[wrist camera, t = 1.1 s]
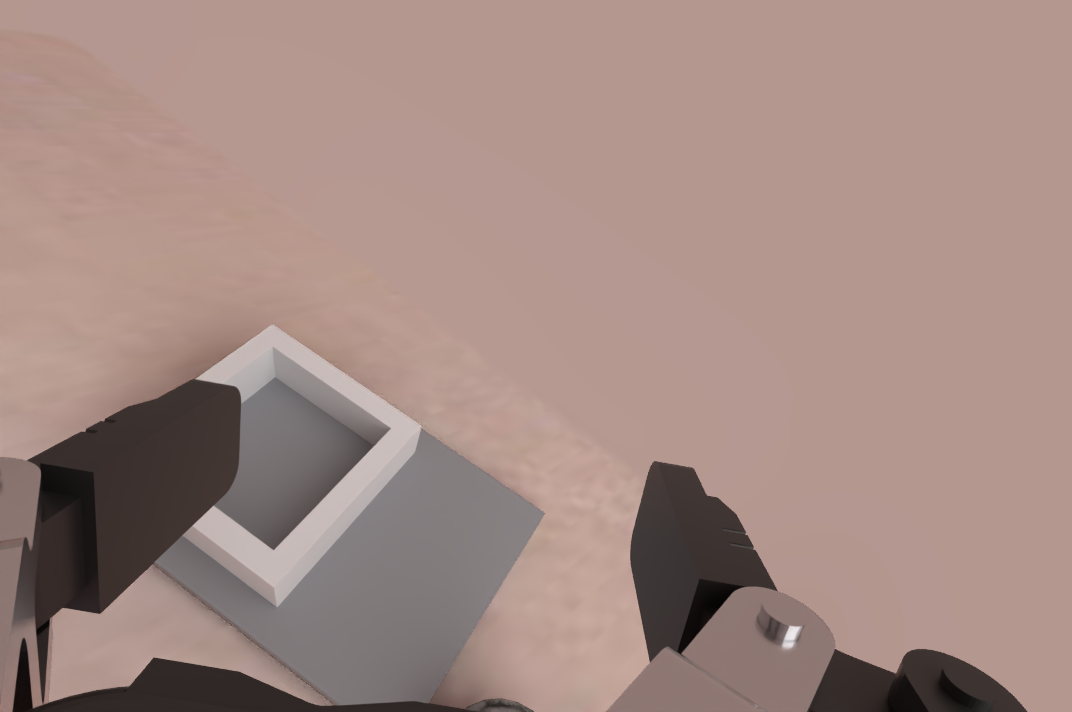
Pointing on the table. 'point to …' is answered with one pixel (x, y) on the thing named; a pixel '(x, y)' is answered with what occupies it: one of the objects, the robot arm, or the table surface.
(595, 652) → the table surface
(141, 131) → the table surface
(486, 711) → the salt shaker
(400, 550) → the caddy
